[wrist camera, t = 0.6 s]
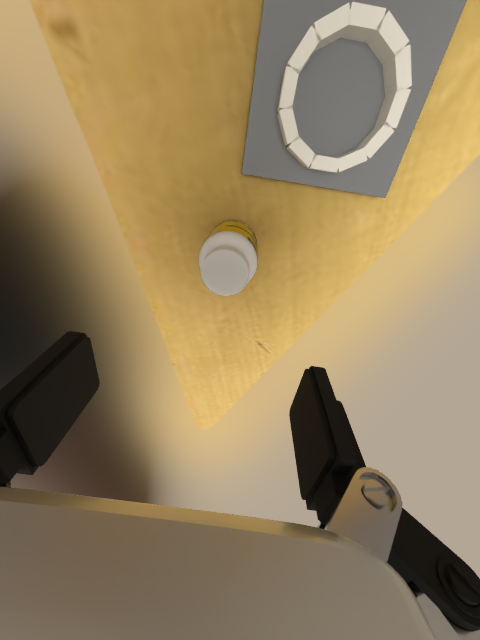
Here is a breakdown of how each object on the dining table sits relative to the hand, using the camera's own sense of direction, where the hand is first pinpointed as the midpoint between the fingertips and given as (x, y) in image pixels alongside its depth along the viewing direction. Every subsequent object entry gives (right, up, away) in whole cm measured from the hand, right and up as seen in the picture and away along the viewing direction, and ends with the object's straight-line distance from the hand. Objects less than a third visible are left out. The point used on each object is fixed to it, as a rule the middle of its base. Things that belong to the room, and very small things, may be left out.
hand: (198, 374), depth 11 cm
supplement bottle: (+1, +11, +18) cm, 21 cm away
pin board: (+10, +24, +9) cm, 28 cm away
